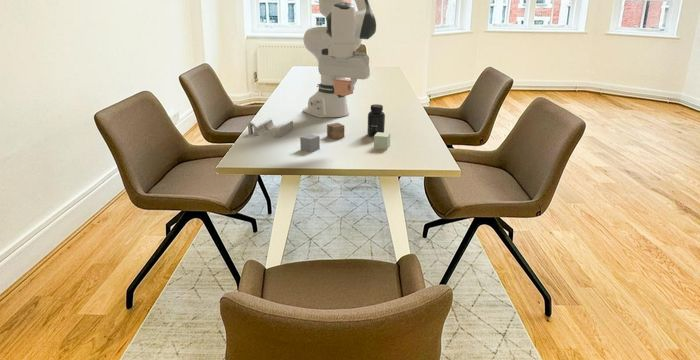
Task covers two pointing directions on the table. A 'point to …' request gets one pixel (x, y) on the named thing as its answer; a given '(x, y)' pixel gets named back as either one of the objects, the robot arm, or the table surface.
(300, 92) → the table surface
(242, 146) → the table surface
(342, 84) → the terracotta cube
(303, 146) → the slate grey cube
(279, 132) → the skate ramp
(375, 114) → the supplement bottle
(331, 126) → the walnut cube
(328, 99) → the robot arm
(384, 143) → the sage cube
